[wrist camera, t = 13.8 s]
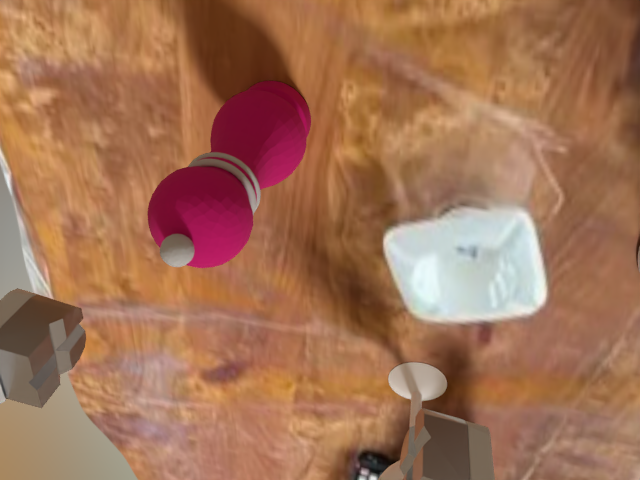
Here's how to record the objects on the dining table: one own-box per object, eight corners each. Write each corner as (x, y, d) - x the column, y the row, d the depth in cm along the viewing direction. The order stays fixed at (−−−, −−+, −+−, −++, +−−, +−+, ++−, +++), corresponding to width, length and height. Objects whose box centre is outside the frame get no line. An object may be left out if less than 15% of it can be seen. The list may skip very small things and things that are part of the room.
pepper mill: (238, 63, 39) (99, 181, 23) (325, 87, 39) (244, 224, 23) (230, 143, 44) (107, 289, 28) (308, 166, 44) (230, 327, 28)
